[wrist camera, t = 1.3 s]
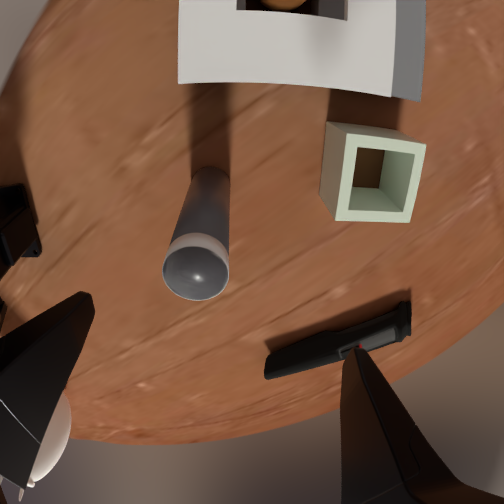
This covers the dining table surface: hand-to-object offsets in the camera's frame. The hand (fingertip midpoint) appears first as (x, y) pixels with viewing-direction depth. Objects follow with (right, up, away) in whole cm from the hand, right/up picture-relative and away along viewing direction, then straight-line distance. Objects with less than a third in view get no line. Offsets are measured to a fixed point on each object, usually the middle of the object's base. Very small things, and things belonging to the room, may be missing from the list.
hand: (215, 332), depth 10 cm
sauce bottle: (-25, -15, +24) cm, 38 cm away
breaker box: (+5, +18, +4) cm, 19 cm away
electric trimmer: (+10, -5, +20) cm, 23 cm away
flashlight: (-2, +7, +11) cm, 13 cm away
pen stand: (+8, +9, +10) cm, 16 cm away
